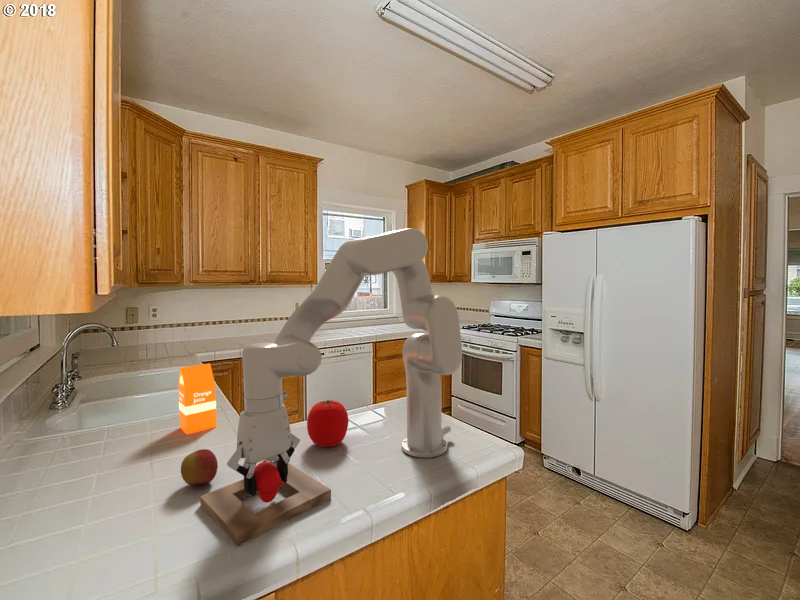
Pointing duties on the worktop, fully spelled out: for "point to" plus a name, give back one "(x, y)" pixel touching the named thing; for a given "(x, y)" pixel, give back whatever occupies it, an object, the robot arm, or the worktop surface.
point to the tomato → (327, 423)
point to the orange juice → (197, 398)
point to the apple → (199, 467)
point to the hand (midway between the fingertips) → (267, 485)
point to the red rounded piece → (267, 481)
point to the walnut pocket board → (250, 525)
